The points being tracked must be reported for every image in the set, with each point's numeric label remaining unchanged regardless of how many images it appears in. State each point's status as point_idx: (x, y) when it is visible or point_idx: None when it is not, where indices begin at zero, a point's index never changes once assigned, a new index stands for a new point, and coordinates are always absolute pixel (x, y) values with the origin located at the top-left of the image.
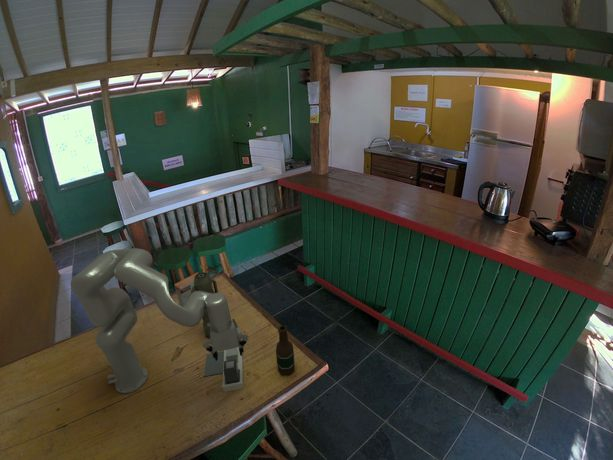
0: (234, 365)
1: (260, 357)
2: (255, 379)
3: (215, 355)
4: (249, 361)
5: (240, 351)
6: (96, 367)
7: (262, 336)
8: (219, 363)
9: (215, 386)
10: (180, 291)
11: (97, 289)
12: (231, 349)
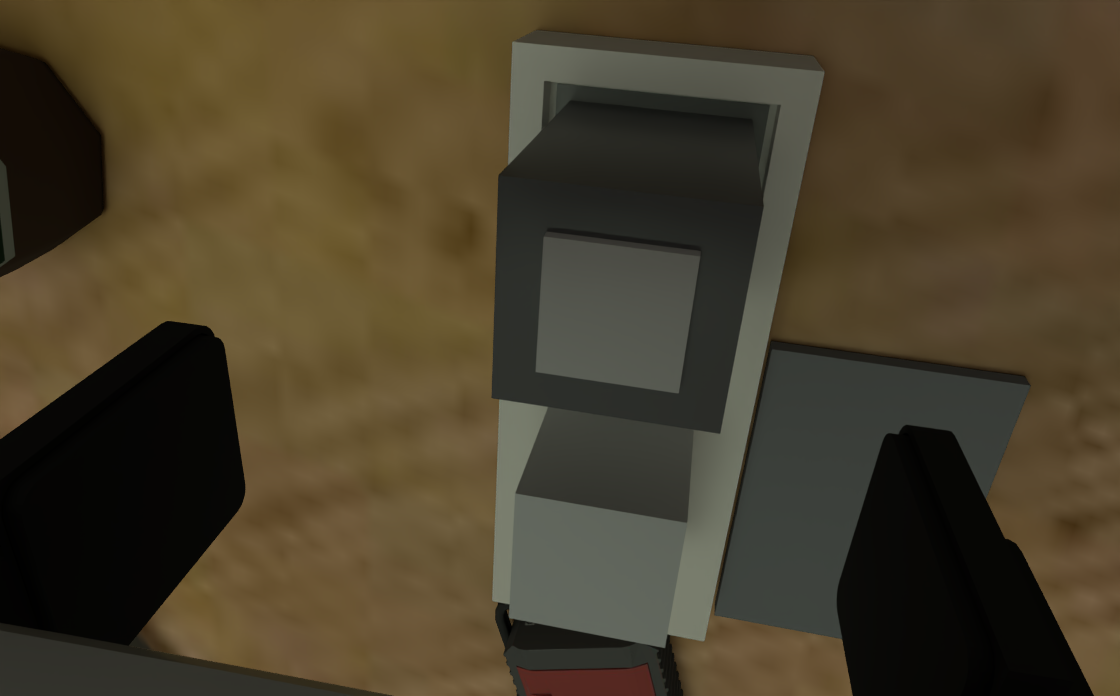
0: (530, 273)
1: (319, 397)
2: (374, 116)
3: (979, 592)
4: (443, 391)
5: (55, 419)
6: None
7: (305, 620)
8: (795, 487)
9: (907, 184)
10: None
11: None
12: (587, 602)
